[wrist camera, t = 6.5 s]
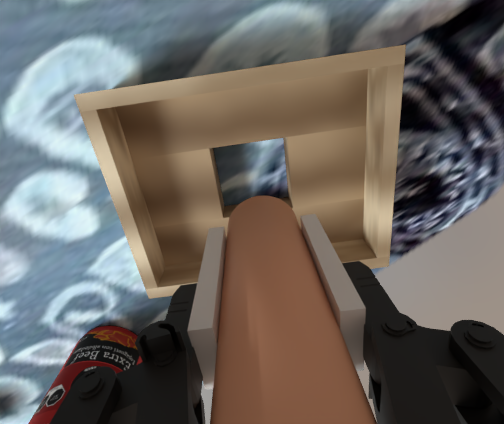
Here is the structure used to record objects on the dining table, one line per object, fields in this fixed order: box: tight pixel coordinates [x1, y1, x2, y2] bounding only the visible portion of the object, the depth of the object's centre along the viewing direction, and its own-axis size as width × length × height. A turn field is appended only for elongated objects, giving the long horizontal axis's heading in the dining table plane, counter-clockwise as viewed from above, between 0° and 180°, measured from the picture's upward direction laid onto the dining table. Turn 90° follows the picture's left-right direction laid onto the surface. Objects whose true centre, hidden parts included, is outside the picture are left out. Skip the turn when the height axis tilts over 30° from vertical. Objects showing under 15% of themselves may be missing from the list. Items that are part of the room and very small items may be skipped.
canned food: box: [29, 326, 142, 424], centre depth 30 cm, size 8×8×11 cm
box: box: [74, 45, 406, 299], centre depth 23 cm, size 16×20×6 cm
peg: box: [210, 196, 377, 424], centre depth 11 cm, size 4×4×12 cm
